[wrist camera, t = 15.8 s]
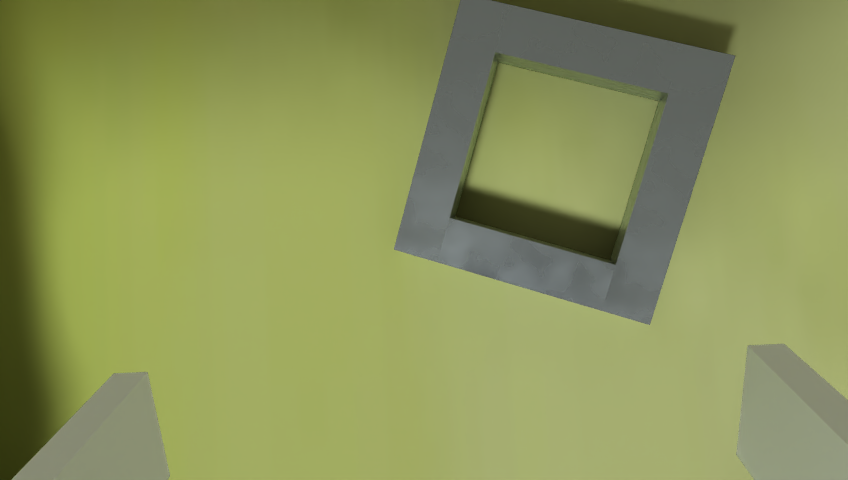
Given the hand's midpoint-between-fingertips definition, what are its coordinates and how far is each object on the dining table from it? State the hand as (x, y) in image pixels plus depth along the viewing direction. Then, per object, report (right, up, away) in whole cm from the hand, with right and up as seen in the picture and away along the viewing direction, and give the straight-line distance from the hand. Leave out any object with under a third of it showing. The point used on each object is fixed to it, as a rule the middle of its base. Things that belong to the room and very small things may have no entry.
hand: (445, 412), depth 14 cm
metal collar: (+7, +8, +21) cm, 24 cm away
